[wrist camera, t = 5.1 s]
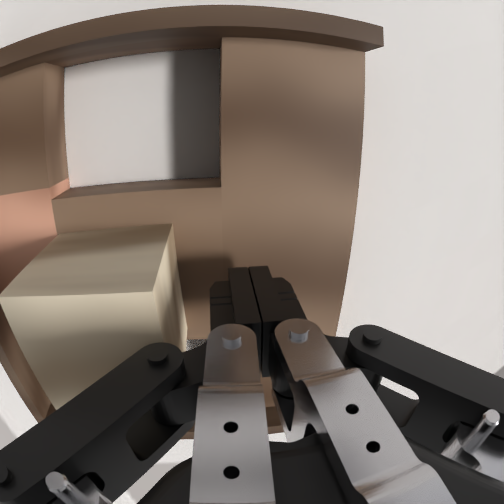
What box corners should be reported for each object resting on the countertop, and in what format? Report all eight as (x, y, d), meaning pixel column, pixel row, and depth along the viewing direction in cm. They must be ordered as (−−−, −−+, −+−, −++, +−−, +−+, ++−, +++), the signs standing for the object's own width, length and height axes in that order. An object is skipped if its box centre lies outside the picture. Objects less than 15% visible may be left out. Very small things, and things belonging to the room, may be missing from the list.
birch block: (59, 233, 11) (-3, 296, 7) (172, 223, 12) (152, 291, 7) (87, 331, 13) (56, 410, 9) (187, 328, 14) (183, 416, 9)
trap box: (-20, 80, 9) (-63, 81, 6) (344, 43, 11) (383, 26, 8) (53, 388, 17) (40, 425, 14) (310, 385, 20) (324, 425, 16)
